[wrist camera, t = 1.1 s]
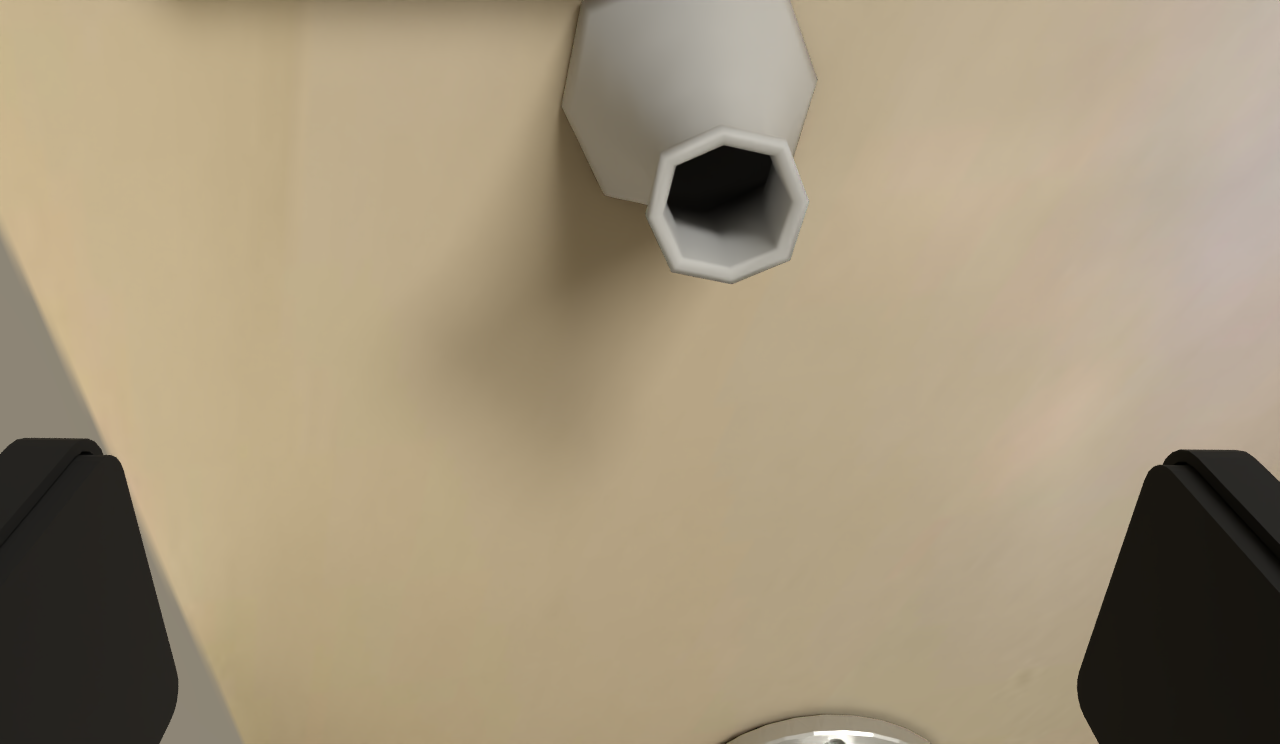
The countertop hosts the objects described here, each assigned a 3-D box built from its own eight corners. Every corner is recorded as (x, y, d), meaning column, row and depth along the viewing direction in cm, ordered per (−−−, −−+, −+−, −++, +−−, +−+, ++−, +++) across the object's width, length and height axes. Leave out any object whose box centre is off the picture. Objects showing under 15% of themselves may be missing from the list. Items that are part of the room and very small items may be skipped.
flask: (816, 199, 30) (906, 355, 21) (577, 223, 30) (567, 388, 21) (814, -61, 26) (922, -6, 17) (543, -33, 26) (514, 37, 18)
